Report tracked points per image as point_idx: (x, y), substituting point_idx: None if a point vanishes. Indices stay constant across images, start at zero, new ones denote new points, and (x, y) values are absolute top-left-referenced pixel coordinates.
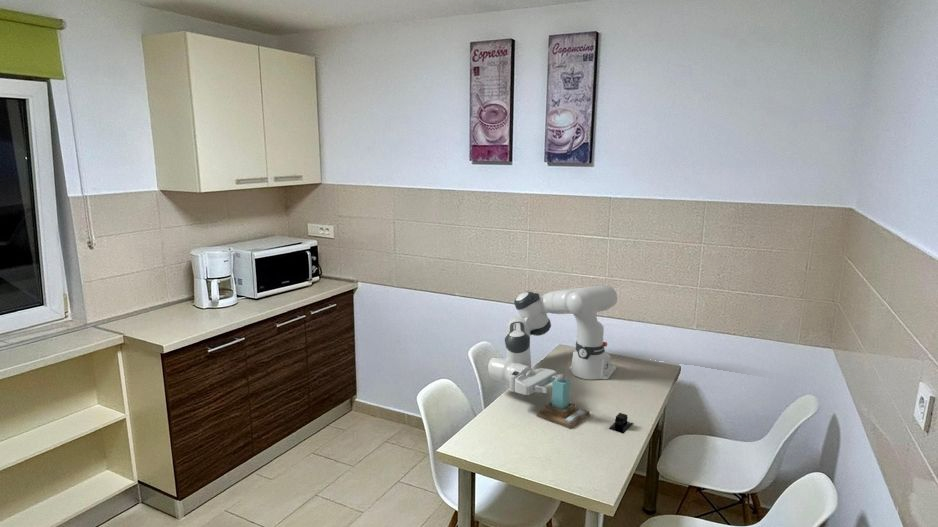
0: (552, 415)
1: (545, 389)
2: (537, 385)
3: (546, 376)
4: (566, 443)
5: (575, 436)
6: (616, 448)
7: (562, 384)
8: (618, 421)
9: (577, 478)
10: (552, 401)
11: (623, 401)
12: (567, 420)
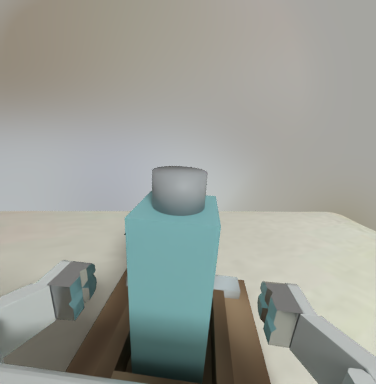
0: (234, 363)
1: (296, 288)
2: (358, 381)
3: (18, 381)
4: (306, 272)
5: (261, 268)
6: (232, 222)
7: (215, 200)
8: None
9: (353, 235)
10: (206, 344)
11: (15, 242)
12: (238, 283)
